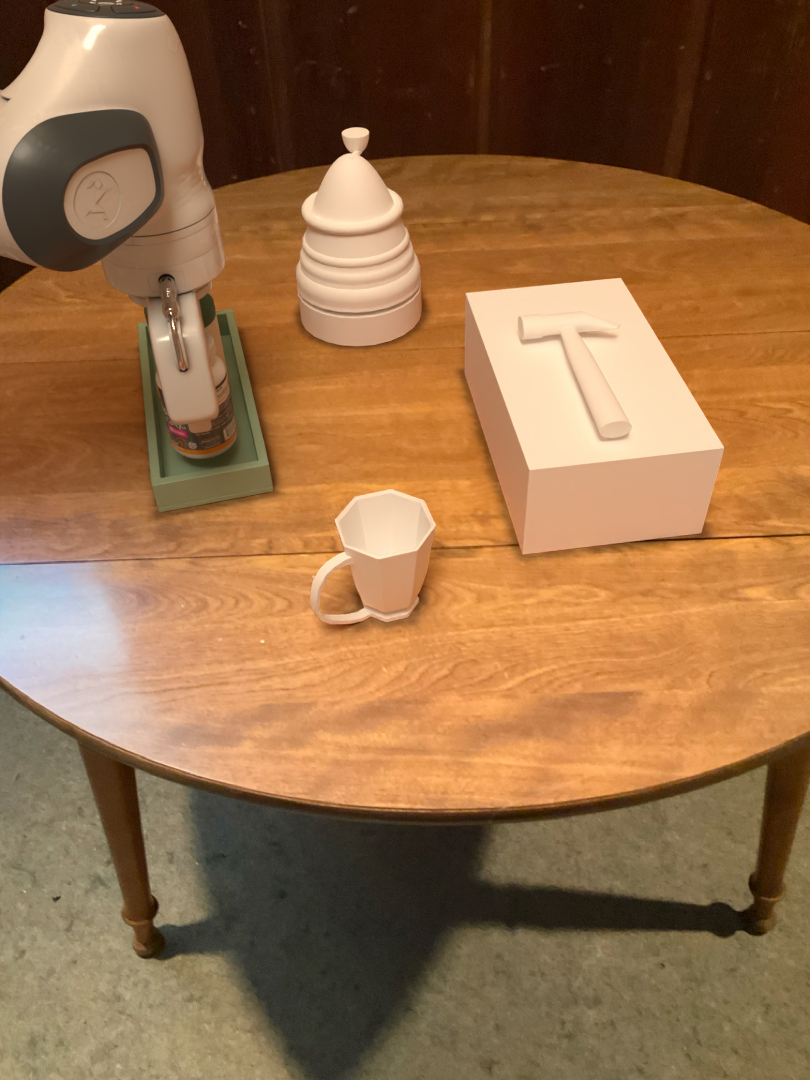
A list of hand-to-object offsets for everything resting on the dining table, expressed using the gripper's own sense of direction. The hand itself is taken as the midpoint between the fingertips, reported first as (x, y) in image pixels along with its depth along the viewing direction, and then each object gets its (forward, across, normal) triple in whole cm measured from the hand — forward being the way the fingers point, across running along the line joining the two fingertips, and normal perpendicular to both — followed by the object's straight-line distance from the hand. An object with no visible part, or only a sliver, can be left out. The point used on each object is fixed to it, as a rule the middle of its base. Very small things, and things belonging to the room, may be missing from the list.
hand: (196, 401), depth 77 cm
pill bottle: (+4, 0, 0) cm, 4 cm away
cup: (+6, -21, -10) cm, 24 cm away
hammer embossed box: (+6, -7, -31) cm, 32 cm away
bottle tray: (+6, +7, 0) cm, 9 cm away
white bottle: (+6, +9, 0) cm, 10 cm away
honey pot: (+6, +20, -18) cm, 28 cm away
